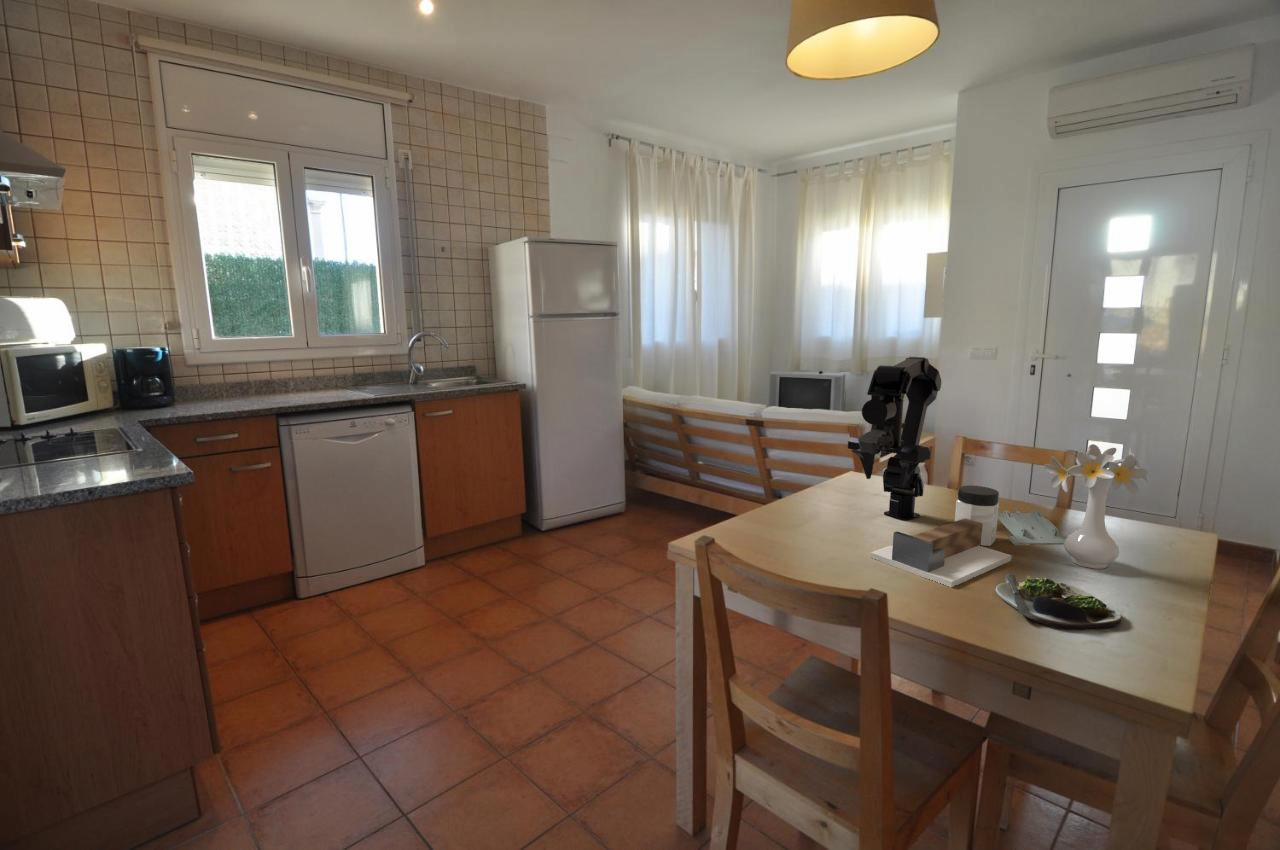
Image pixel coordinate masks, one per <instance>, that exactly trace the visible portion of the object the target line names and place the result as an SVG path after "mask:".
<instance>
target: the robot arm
mask: <svg viewBox="0 0 1280 850" xmlns="http://www.w3.org/2000/svg"><path fill="white" fill-rule="evenodd" d="M941 388H942V378H941V374H940V371H939V369H937V368H936V367H934V366H933V365H932V364H931V363H930V362H929V358H926V357H924V356H923V357H922V356H921V357H920V356H919V357H918V356H909V357H906V358H905V360H903V361H901V362H899V363H897V364H894V365H883V364H882V365H879V366H877V367H876V369H875V370H874V371H873V374H872V377H871V381H870V383H869V387H868V391H867V393H866V394H867V396H871V399H870V400H868V401H866V402H865V403H864V404H863V406H862V408H861V416H862V419H863V420H864V421H865V422H866V423H868V424H870V425H871V428H870V431H868V432H866V433H864V434H860V435H856V436H851V437H849V439H848V440H847V449H849V450H851V452H852V453H853V454H855V455H856V456H857V457H858V458H859V460H860V463H861V466H862V469H863V472H864V475H865V478H866V480H870V479H871V477H872V474H873V469H874V463H875V456H876V455H879V454H880V453H881V452H887V453H891V454H892V453H893V454H895V455H894V456H890V457H889V458H888V460H887V464H886V468H885V469H884V471H883V474H882V483H883V492H884V493H890V495H889V496H890V497H889V505H888V510H886V511H884V512H883V515H886V516H889V517H892V518H896V519H899V520H903V521H909V520H911V519H914V518H917V517H920V513H917V512H915V510H916V509H915V507H916V498H918V497H924V490H925V489H924V485H925V484H924V483H923V479H922V478H923V477H922V475H921V469H920V466H919V465H920V464H921V463H924V462H925V461H928V460H931V450H930V448H929V447H928V446H926V445H925V446H923V445H920V443H921V442H920V441H921V438H922V433H923V427H924V424H925V419H926V415H927V411H928V410H927V409H928V407H929V406H930V405H932V403H934V401H935V400H936V399H937V396H938V393H939V392H940V391H941ZM905 396H906V397H907V400H908V404H907V408H906V409H907V410H906V413H905V417H904V418H905V419H904V422H903V412H904V398H905Z"/></svg>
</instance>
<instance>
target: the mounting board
mask: <svg viewBox="0 0 1280 850" xmlns="http://www.w3.org/2000/svg"><path fill="white" fill-rule="evenodd" d="M892 549H893V544H892V545H888V546H885V547H883V548H880V549H876V550H874V551H871V552H870V557H869V558H870V559H872V558H873V559H872V560H875V559H876V561H877V562H881V563H883V564H886V565H889V566H892V567H895V568H897V569H900V570H903V571H905V572H907V573H910V574H913V575H916V576H918V577H922V578H924V579H926V578H927V580H929V579H930V581H932V580H933V581H932V582H935V581H936V582H935V583H937V582H938V584H940V583H941V584H940V585H943V584H944V585H943V586H945V585H946V587H948V586H949V588H954V587H956V586H958V585H960V584H963V583H965V582H968V581H970V580H972V579H974V578H976V577H978V576H981V575H982V574H985V573H987V572H989V571H991V570H993V569H996V568H998V567H1000V566H1004V564H1007V563H1009V562H1011V561H1012V555H1011V554H1008V553H1005V552H1002V551H999V550H995V549H991V548H988V547H986V546H980V545H978V546H976V547H973V548H971V549H968V550H965V551H963V552H960V553H958V554H955V555H953V556H950V557H947V558H945V561H944V566H943V567H940V568H938V569H935V570H933V571H931V572H928V573H927V572H924V571H922V570H919V569H916V568H913V567H911V566H908V565H905V564H902V563H900V562H897V561H894V560H892ZM973 577H974V578H973ZM955 585H956V586H955Z"/></svg>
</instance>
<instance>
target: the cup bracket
mask: <svg viewBox="0 0 1280 850" xmlns="http://www.w3.org/2000/svg"><path fill="white" fill-rule="evenodd" d="M892 537H893V538H892V545H893V549H892V560H894V561H897V562H900V563H902V564H905V565H908V566H911V567H913V568H916V569H919V570H922V571H924V572H927V573H928V572H931V571H933V570H935V569H938V568H940V567H943V566H944V561H945V549H942V548H938V549H936V550H933V542H929V541H926V540H923V539H920V538H917V537H914V535H910V534H906V533H903V532H901V531H894V532H893V536H892Z"/></svg>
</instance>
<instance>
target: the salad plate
mask: <svg viewBox="0 0 1280 850" xmlns="http://www.w3.org/2000/svg"><path fill="white" fill-rule="evenodd" d="M1004 578H1005V581H1006V582H1002V583H999V584H998V585H997V586H995V593H996V594H997V595H998V596H999V597H1000V598H1001V599H1002V600H1003V601H1004V602H1006V603H1007V604H1008V605H1010V606H1011V607H1013V608H1014V609H1015V610H1016V611H1017V612H1019V613H1020V614H1021V615H1023V616H1024V617H1025V618H1027V619H1029V620H1031V621H1033V622H1035V623H1037V624H1040V625H1043V626H1046V627H1050V628H1055V629H1059V630H1068V631H1088V630H1089V631H1090V630H1092V631H1093V630H1106V629H1110V628H1114V627H1116V626H1118V625H1120V624H1121V622H1122V619H1123V616H1122V612H1121V611H1120V609H1118V608H1116V607H1115V606H1113V605H1111V604H1109V603H1107V602H1105V601H1103V600H1101V599H1099V598H1097V597H1095V596H1093V595H1092V594H1091V593H1088V592H1087V591H1085V590H1083V589H1081V588H1080V587H1076V586H1074V585H1071V584H1068V583H1063V582H1059V581H1054V580H1053V579H1051V578H1047V577H1045V578H1038V577H1036V578H1032V577H1031V575H1027V576H1026V579H1025V581H1022V582H1021V581H1019V580H1018V579H1017V576H1016V575H1015V574H1012V573H1006V574H1005V575H1004Z"/></svg>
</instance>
